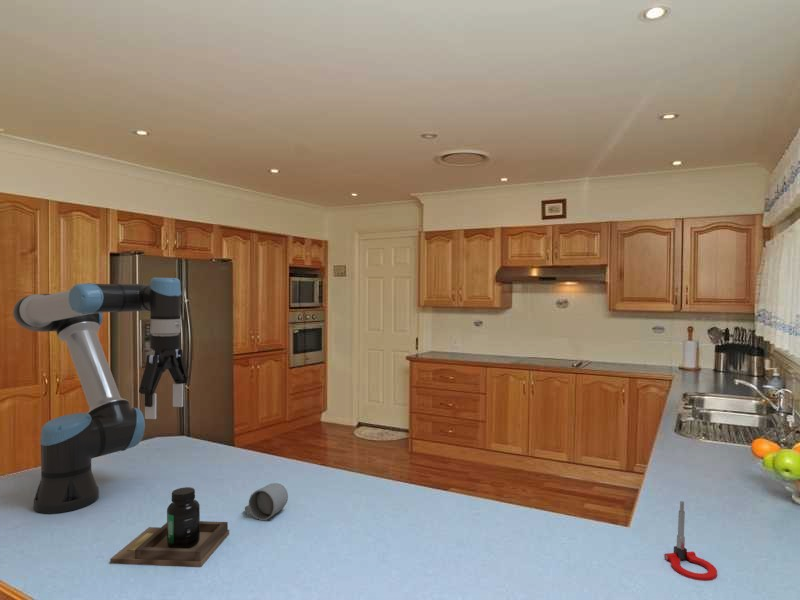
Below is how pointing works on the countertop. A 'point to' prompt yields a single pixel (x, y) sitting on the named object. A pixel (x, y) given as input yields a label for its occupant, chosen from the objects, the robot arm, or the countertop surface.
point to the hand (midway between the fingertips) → (164, 412)
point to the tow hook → (688, 554)
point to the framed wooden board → (156, 551)
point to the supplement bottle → (183, 519)
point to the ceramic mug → (267, 501)
